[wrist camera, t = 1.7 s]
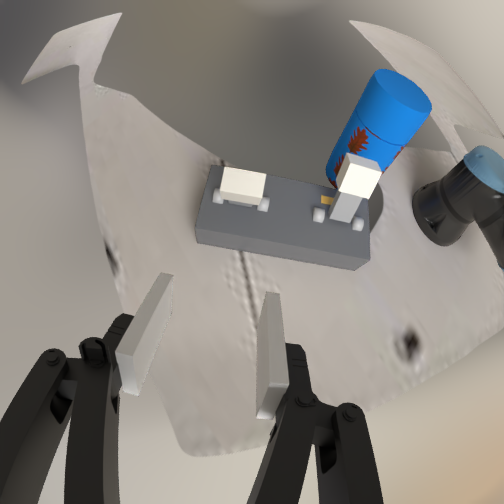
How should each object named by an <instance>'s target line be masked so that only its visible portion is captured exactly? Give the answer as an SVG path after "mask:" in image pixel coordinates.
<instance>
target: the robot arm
mask: <svg viewBox="0 0 504 504" xmlns="http://www.w3.org/2000/svg"><path fill="white" fill-rule="evenodd" d="M413 211H414V215H415V218H416V220H417V223H418V225H419V226H420V228H421V230H422V231H423V232H424V234H425V235H426V236H427V237H428V238H429V239H430V240H431V241H433V242H434V243H436V244H438V245H440V246H449V245H451V244H453V243H454V242H456V241H457V240H458V239H459V238H460V236H461V235H462V233H463V232H464V231H465V229H466V228H467V226H468V225H469V224H470V223H471V222H473V221H474V220H475V221H476V223H477V224H478V226H479V228H480V229H481V231H482V233H483V234H484V236H485V238H486V240H487V242H488V243H489V245H490V247H491V249H492V251H493V253H494V255H495V257H496V259H497V262H498V265H499V267H500V268H501V269H502V271H503V272H504V159H503V158H502V157H501V156H500V155H499V154H498V153H496V152H495V151H494V150H492V149H490V148H489V147H486V146H477V147H475V148H474V149H473V150H472V151H470V152H469V153H467V154H466V155H465V156H464V158H463V159H462V160H461V161H460V162H459V163H458V164H457V165H456V166H455V167H454V168H453V169H452V170H451V171H450V172H449V173H448V174H447V175H445V176H444V177H443V178H442V179H441V180H439V181H436V182H433V183H430V184H427V185H425V186H423V187H422V188H420V189H419V190H418V191H417V192H416V194H415V195H414V198H413ZM172 292H173V275H171V274H166V273H160V275H159V276H158V278H157V279H156V281H155V283H154V284H153V286H152V288H151V289H150V291H149V293H148V294H147V296H146V298H145V299H144V301H143V303H142V304H141V306H140V308H139V310H138V311H137V313H136V315H135V316H132V315H128V314H124V313H123V314H121V315H120V316H118V317H117V318H116V319H115V320H114V321H113V323H112V325H111V327H110V328H109V329H108V332H107V333H106V334H105V336H104V337H103V339H101V338H97V337H90V338H87V339H85V340H83V341H82V342H81V343H80V345H79V350H80V354H81V357H82V358H79V359H78V358H66V355H65V354H64V352H63V351H61V350H59V349H55V348H54V349H48V350H46V351H44V353H43V354H41V356H40V357H39V359H38V361H37V362H36V363H35V365H34V367H33V368H32V369H31V371H30V372H29V374H28V376H27V377H26V379H25V380H24V382H23V383H22V385H21V387H20V388H19V390H18V392H17V393H16V395H15V397H14V398H13V400H12V402H11V403H10V405H9V407H8V409H7V410H6V412H5V414H4V416H3V418H2V420H1V422H0V504H37V503H38V501H39V497H40V494H41V491H42V488H43V485H44V482H45V480H46V477H47V474H48V471H49V469H50V466H51V463H52V461H53V458H54V456H55V453H56V450H57V448H58V445H59V443H60V440H61V438H62V436H63V434H64V431H65V429H66V426H67V424H68V422H69V420H70V418H71V422H70V429H69V437H68V445H67V455H66V467H65V486H64V487H65V488H64V504H120V497H119V479H118V478H119V477H118V425H119V404H120V397H119V390H120V388H121V386H122V388H123V391H124V392H126V393H129V394H133V395H136V396H139V394H140V392H141V389H142V386H143V384H144V381H145V378H146V376H147V373H148V370H149V368H150V365H151V363H152V360H153V358H154V355H155V353H156V350H157V348H158V345H159V343H160V340H161V338H162V335H163V333H164V330H165V328H166V326H167V323H168V321H169V318H170V316H171V314H172ZM306 360H307V359H306V354H305V351H304V350H303V348H302V347H301V345H298V344H290V343H285V338H284V329H283V320H282V311H281V302H280V294H278V293H272V292H266V295H265V299H264V303H263V307H262V311H261V315H260V319H259V323H258V327H257V380H256V418H260V419H271V420H273V418H274V416H275V414H276V423H275V425H274V427H273V429H272V431H271V433H270V435H271V436H270V439H269V442H268V445H267V448H266V451H265V454H264V457H263V460H262V463H261V466H260V469H259V471H258V474H257V477H256V480H255V483H254V485H253V488H252V491H251V493H250V496H249V498H248V501H247V504H298V502H299V498H300V494H301V490H302V486H303V482H304V477H305V474H306V469H307V465H308V460H309V456H310V451H311V446H312V444H314V445H315V455H316V466H317V478H318V491H319V504H384V503H383V497H382V492H381V487H380V481H379V477H378V472H377V467H376V462H375V458H374V453H373V449H372V445H371V440H370V436H369V432H368V428H367V423H366V420H365V415H364V413H363V411H362V409H361V408H360V407H359V406H357V405H355V404H353V403H342V404H341V405H339V406H338V407H334V406H331V405H327V404H325V403H322V402H321V401H319V400H318V398H317V396H316V395H315V394H314V393H313V392H312V388H311V382H310V377H309V371H308V368H307V367H308V365H307V362H306Z"/></svg>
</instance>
